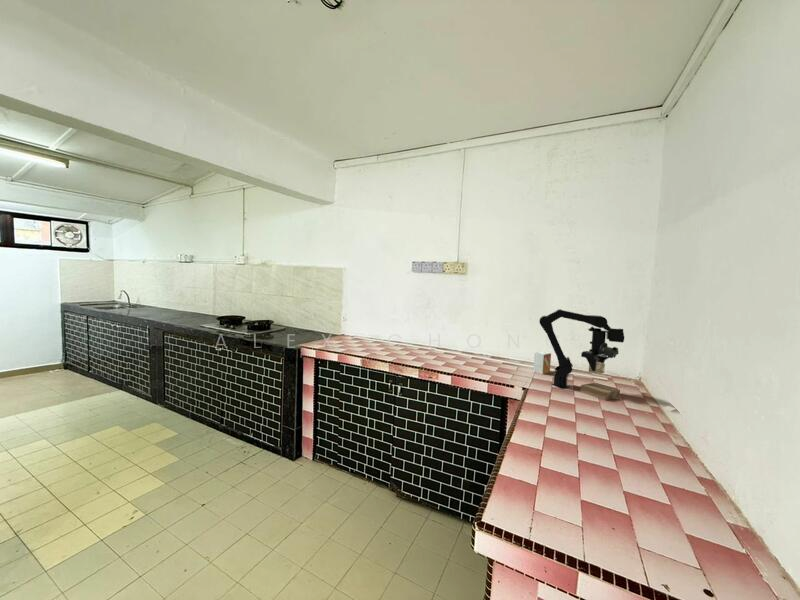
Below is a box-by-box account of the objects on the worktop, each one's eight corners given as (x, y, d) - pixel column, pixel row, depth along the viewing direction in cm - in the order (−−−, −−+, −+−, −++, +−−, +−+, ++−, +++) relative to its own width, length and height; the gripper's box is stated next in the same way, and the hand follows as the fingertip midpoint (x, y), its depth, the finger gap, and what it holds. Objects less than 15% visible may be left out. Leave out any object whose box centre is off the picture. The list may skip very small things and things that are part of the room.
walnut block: (604, 401, 145) (605, 393, 145) (580, 392, 156) (580, 385, 156) (619, 397, 150) (620, 390, 150) (594, 389, 161) (595, 382, 161)
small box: (542, 376, 181) (543, 354, 181) (532, 373, 187) (534, 352, 186) (550, 374, 186) (551, 353, 185) (540, 371, 191) (541, 351, 190)
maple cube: (598, 374, 153) (599, 364, 153) (588, 371, 158) (589, 362, 158) (604, 373, 156) (604, 363, 156) (594, 370, 160) (594, 361, 160)
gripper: (604, 344, 144) (602, 376, 145) (625, 342, 153) (623, 372, 154) (581, 340, 154) (579, 370, 155) (602, 338, 163) (600, 366, 164)
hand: (596, 370), depth 157 cm, fingers closed on maple cube, 5 cm apart
